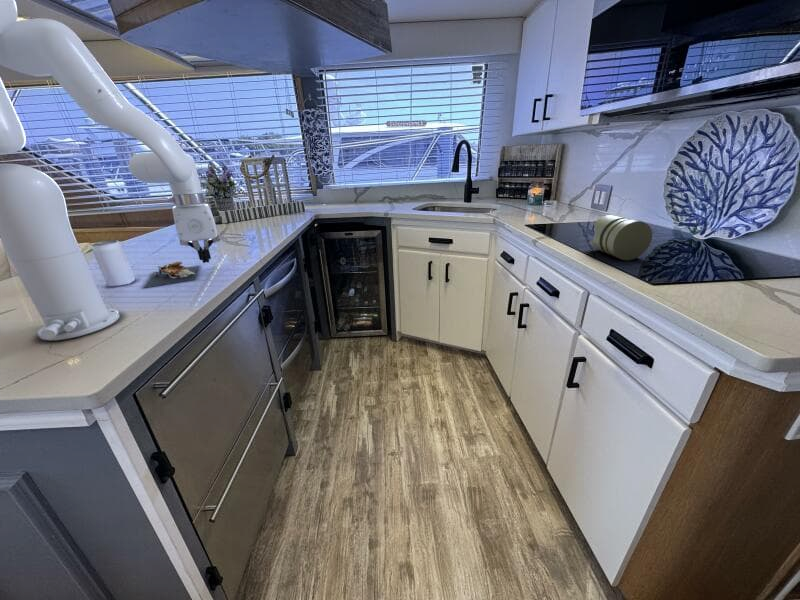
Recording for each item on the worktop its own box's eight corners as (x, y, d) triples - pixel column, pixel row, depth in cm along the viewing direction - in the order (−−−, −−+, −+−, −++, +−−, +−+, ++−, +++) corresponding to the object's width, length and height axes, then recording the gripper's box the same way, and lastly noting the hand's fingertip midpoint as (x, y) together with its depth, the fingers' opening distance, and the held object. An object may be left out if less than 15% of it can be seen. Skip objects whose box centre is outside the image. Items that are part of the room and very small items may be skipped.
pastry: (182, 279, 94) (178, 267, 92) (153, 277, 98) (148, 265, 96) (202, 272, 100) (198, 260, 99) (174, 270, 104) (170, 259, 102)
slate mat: (194, 280, 93) (194, 279, 93) (144, 288, 89) (144, 287, 89) (198, 266, 107) (197, 266, 107) (154, 272, 102) (154, 272, 102)
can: (119, 287, 90) (102, 245, 85) (101, 286, 91) (83, 245, 86) (141, 279, 96) (125, 240, 91) (123, 279, 97) (107, 239, 92)
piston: (618, 249, 106) (626, 214, 101) (646, 259, 95) (657, 220, 90) (585, 250, 105) (592, 215, 101) (609, 261, 94) (618, 222, 90)
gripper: (156, 203, 87) (176, 268, 94) (218, 199, 93) (232, 260, 100) (161, 201, 93) (179, 262, 100) (218, 198, 99) (232, 255, 106)
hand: (206, 261), depth 100 cm, fingers closed
